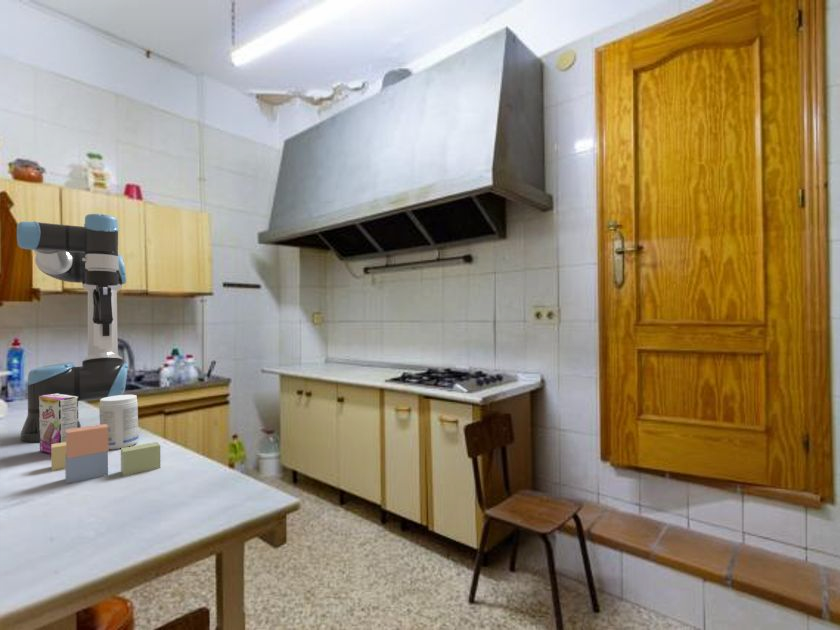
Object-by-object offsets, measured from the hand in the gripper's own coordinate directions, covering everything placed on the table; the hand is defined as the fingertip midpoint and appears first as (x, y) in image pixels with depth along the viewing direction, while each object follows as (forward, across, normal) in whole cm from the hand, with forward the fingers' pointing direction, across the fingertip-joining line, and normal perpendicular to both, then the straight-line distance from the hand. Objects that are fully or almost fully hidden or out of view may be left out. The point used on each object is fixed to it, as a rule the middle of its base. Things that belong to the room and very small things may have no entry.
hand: (102, 347), depth 121 cm
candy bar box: (+31, -14, -9) cm, 35 cm away
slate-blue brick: (+31, +15, -5) cm, 35 cm away
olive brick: (+31, +18, +6) cm, 36 cm away
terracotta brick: (+25, +16, -5) cm, 30 cm away
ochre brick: (+31, +2, -7) cm, 32 cm away
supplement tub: (+31, -10, +5) cm, 33 cm away
